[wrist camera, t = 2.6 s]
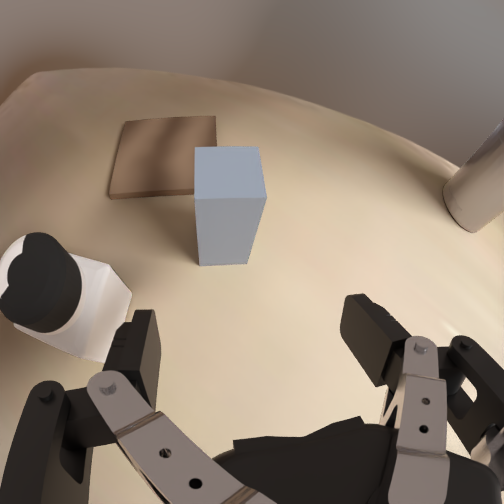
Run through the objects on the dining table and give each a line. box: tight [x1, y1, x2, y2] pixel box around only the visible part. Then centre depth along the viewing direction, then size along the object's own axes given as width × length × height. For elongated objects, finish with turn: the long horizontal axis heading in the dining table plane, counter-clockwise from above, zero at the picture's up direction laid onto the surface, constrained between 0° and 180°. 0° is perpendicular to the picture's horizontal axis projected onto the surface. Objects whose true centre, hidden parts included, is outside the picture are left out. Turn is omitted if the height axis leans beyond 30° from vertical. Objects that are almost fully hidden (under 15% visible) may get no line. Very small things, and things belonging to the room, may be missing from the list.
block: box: [194, 146, 267, 266], centre depth 24 cm, size 4×4×11 cm
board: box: [109, 116, 217, 199], centre depth 32 cm, size 12×12×1 cm
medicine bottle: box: [0, 232, 132, 363], centre depth 18 cm, size 7×7×12 cm
